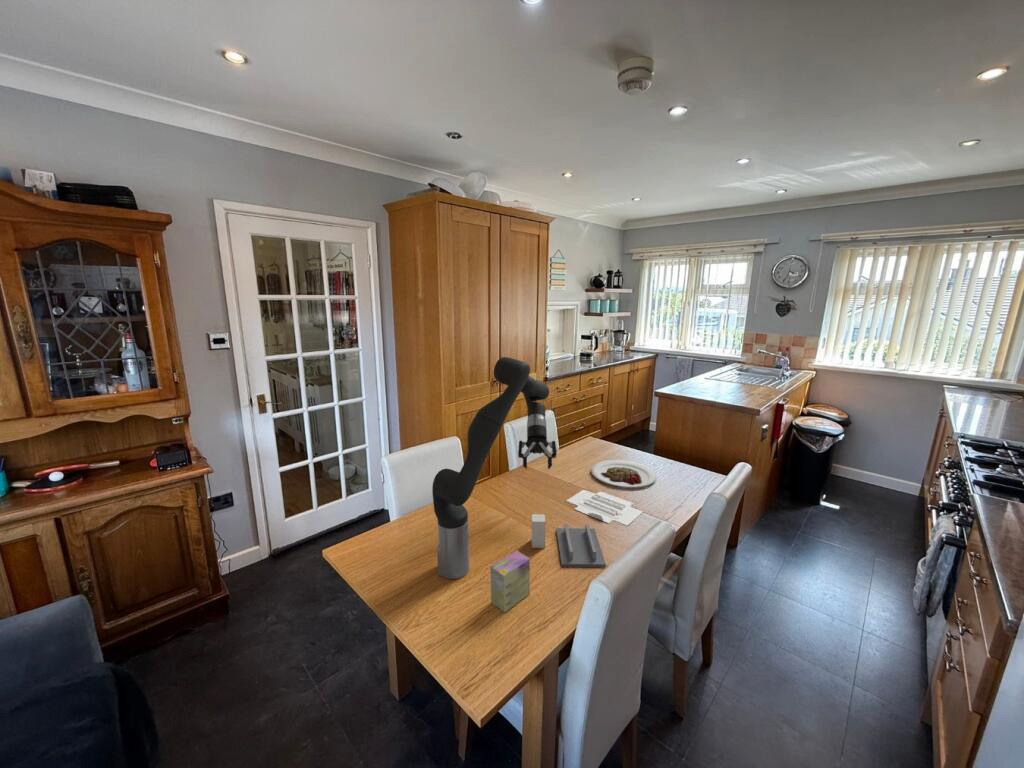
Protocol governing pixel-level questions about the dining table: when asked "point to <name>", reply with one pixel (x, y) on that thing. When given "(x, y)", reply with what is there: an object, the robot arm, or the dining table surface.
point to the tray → (605, 507)
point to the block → (538, 531)
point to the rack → (579, 547)
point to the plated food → (623, 473)
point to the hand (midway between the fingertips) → (537, 468)
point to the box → (510, 580)
